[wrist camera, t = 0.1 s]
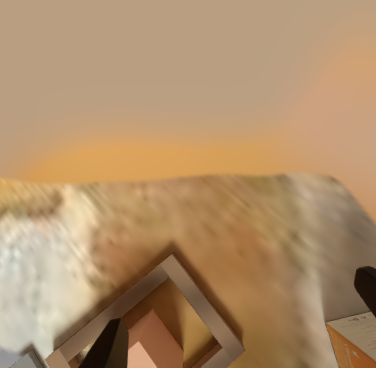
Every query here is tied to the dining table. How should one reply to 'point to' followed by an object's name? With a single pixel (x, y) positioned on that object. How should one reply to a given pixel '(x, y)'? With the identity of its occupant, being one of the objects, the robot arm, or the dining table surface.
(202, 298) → the holder
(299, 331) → the dining table surface
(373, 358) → the small box
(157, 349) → the block
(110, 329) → the robot arm
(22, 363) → the mat
